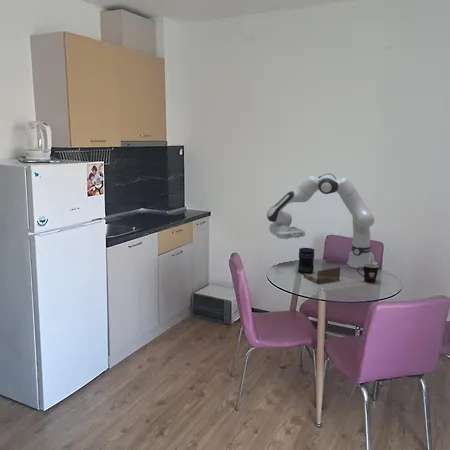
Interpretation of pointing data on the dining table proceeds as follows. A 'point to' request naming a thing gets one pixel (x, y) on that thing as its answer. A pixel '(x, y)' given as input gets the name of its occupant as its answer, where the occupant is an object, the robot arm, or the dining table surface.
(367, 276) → the coffee mug
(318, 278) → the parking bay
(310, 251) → the dark blue cylinder
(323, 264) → the dining table surface
